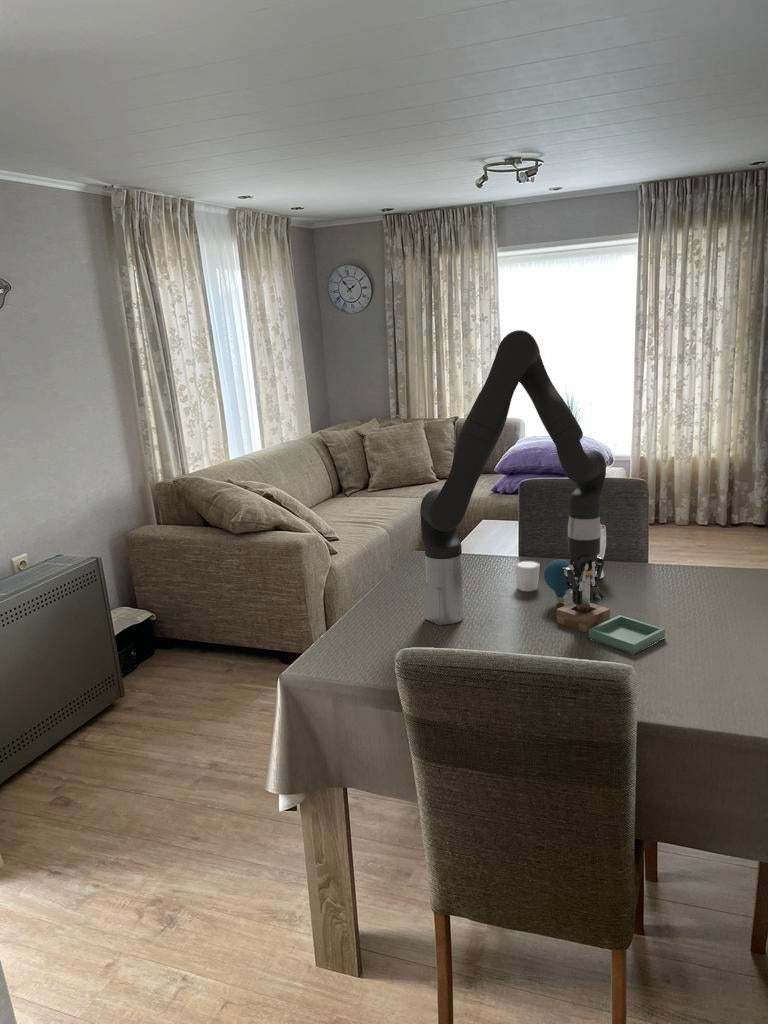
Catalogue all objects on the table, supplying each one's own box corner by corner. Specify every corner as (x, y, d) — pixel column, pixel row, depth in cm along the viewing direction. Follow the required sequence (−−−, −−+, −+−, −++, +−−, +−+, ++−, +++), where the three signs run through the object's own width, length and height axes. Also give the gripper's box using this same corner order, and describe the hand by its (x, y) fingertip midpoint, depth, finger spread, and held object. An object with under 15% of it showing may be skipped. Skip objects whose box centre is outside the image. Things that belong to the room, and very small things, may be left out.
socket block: (586, 632, 172) (586, 619, 171) (556, 622, 179) (556, 609, 178) (609, 622, 177) (610, 608, 176) (579, 612, 184) (579, 599, 183)
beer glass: (579, 579, 208) (580, 529, 204) (580, 571, 214) (581, 522, 210) (605, 580, 206) (606, 530, 202) (605, 572, 212) (606, 523, 208)
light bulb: (553, 611, 186) (553, 566, 183) (538, 600, 194) (538, 557, 191) (582, 606, 188) (583, 562, 185) (566, 595, 196) (566, 553, 193)
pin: (583, 624, 175) (584, 573, 172) (569, 619, 178) (570, 569, 175) (595, 619, 177) (596, 569, 174) (580, 614, 181) (581, 565, 178)
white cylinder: (542, 591, 200) (542, 567, 199) (517, 592, 200) (517, 568, 199) (537, 583, 207) (537, 559, 205) (513, 584, 207) (513, 560, 205)
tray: (633, 655, 159) (634, 644, 159) (588, 638, 169) (588, 629, 168) (664, 639, 166) (665, 629, 166) (619, 624, 176) (620, 614, 175)
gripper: (577, 543, 165) (576, 614, 170) (615, 531, 174) (613, 598, 178) (552, 537, 171) (551, 605, 176) (589, 525, 179) (588, 591, 184)
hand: (582, 601), depth 177 cm, fingers closed on pin, 3 cm apart
